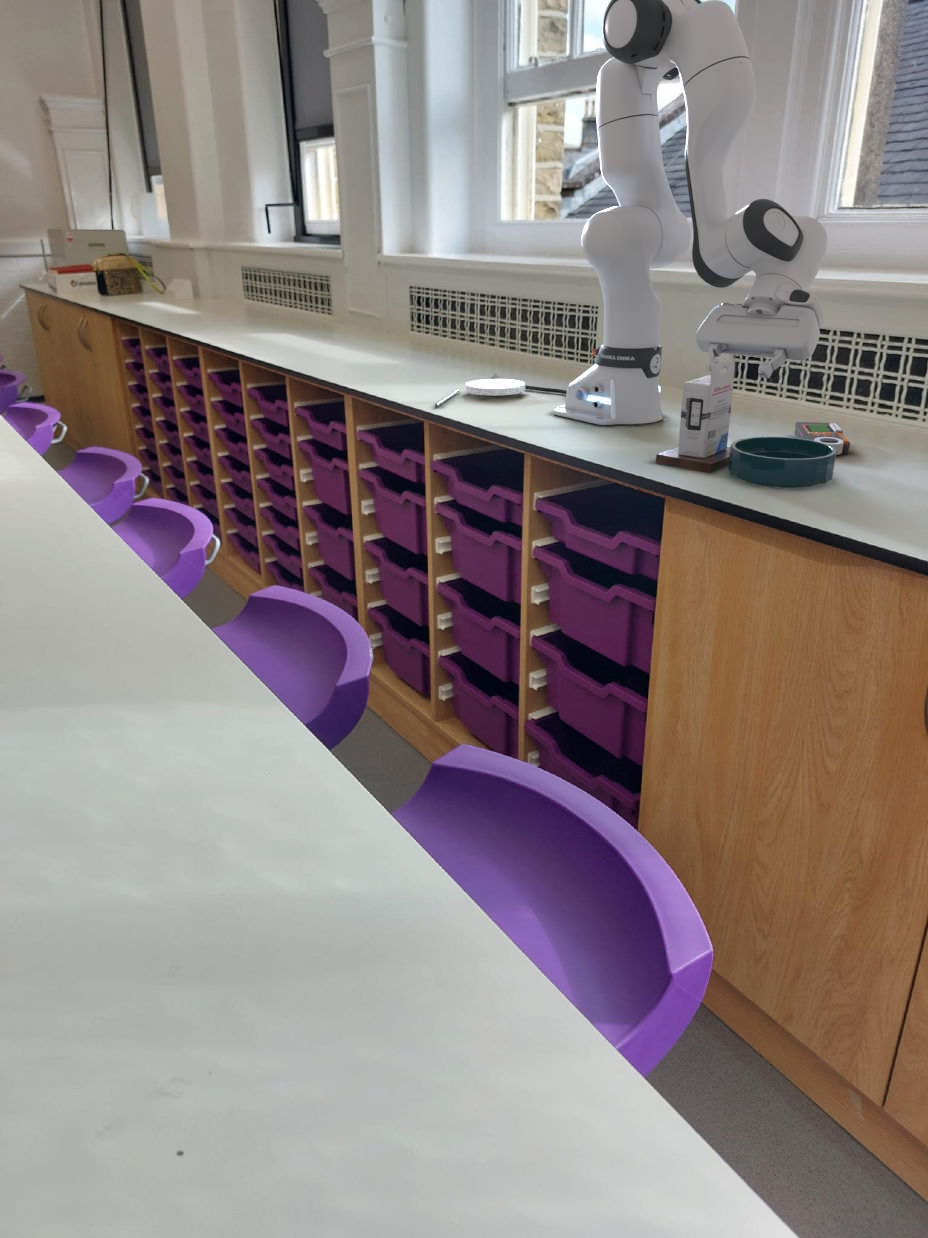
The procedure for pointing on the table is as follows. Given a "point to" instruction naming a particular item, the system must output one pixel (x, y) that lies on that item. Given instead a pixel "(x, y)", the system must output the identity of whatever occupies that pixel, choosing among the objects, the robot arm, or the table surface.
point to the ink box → (706, 412)
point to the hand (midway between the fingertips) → (736, 372)
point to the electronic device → (823, 435)
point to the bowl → (782, 461)
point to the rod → (446, 398)
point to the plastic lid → (495, 387)
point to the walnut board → (694, 460)
